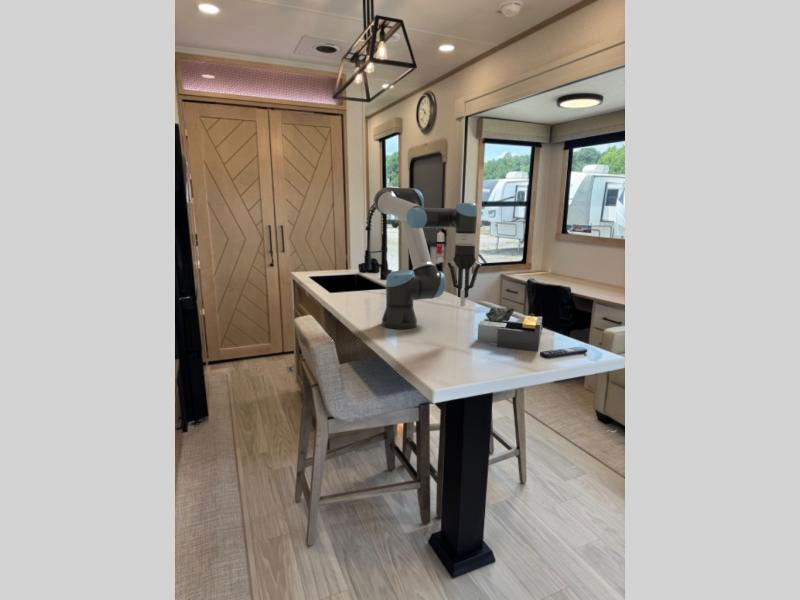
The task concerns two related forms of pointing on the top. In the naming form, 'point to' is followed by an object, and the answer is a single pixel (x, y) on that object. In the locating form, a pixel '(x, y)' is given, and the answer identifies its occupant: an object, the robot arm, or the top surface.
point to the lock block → (489, 331)
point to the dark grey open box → (521, 334)
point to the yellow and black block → (529, 315)
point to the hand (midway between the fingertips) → (462, 305)
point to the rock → (499, 314)
